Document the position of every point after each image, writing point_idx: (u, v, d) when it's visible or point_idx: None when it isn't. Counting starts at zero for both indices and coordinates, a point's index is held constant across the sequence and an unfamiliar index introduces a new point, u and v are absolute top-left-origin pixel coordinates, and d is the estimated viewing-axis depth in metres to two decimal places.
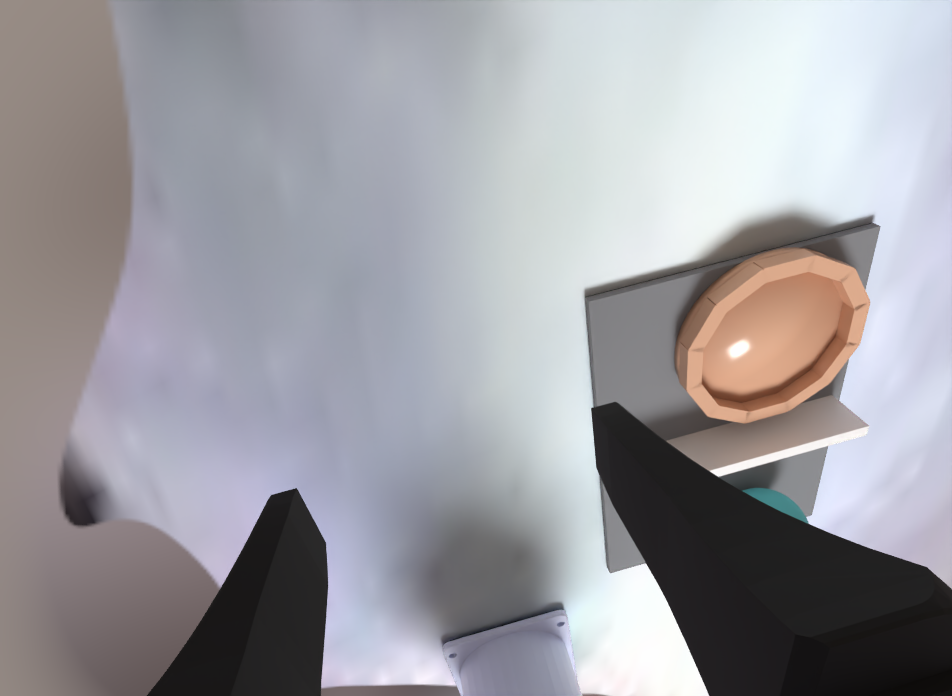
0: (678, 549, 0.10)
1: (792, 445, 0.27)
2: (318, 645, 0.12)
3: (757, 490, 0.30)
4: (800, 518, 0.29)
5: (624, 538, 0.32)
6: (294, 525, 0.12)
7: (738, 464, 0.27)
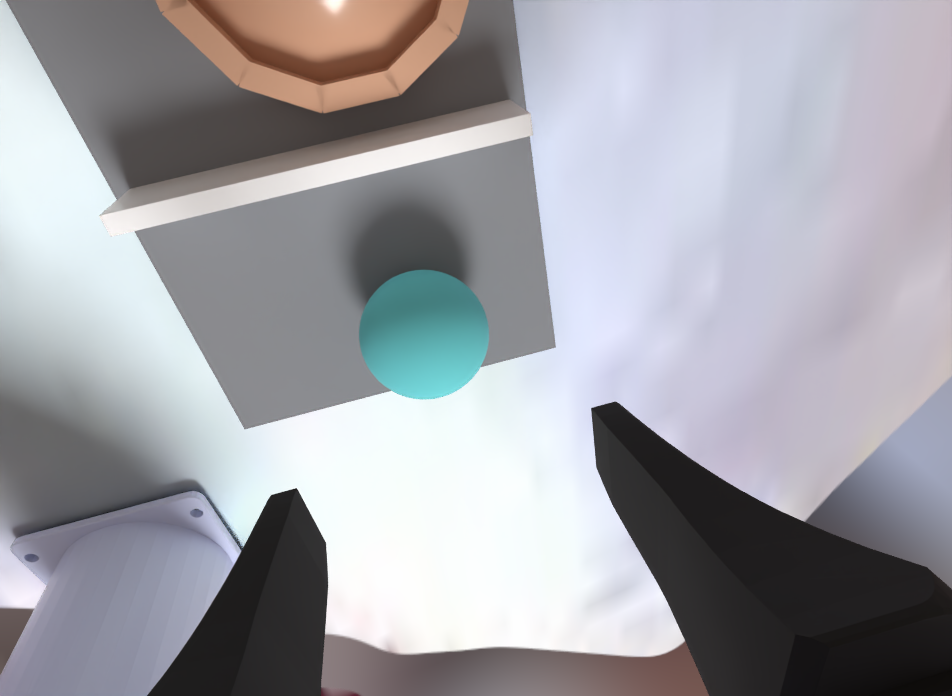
0: (678, 549, 0.10)
1: (397, 145, 0.16)
2: (318, 645, 0.12)
3: None
4: (455, 299, 0.18)
5: (239, 364, 0.21)
6: (294, 525, 0.12)
7: (296, 172, 0.15)
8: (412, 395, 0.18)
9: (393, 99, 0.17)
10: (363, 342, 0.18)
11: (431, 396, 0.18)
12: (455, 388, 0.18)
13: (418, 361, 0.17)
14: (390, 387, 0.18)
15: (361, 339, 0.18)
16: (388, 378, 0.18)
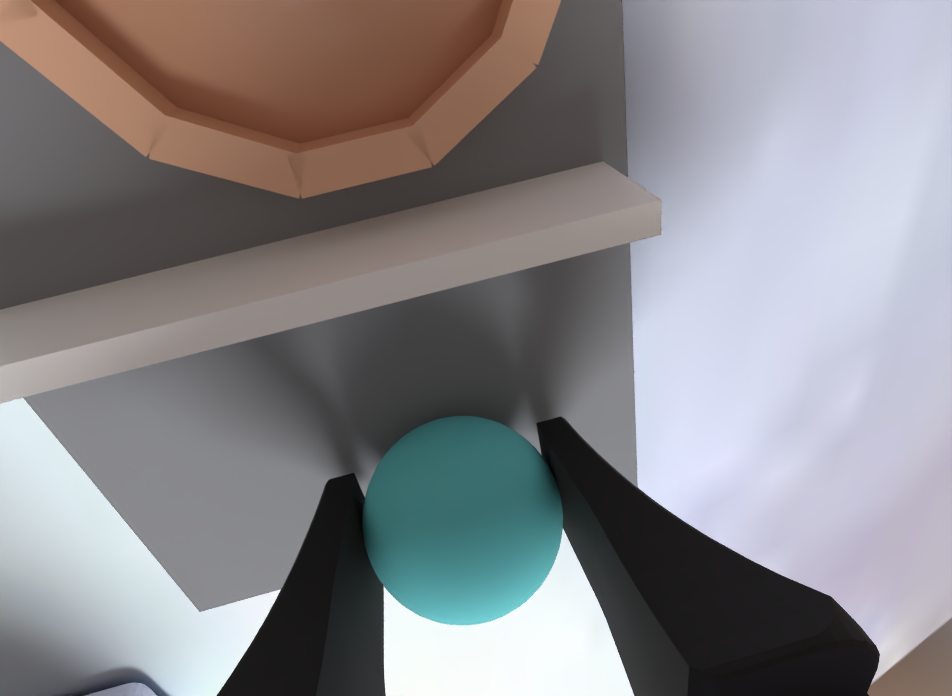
0: (607, 569, 0.10)
1: (429, 257, 0.09)
2: (379, 627, 0.12)
3: (445, 419, 0.12)
4: (517, 483, 0.11)
5: (187, 537, 0.14)
6: (355, 508, 0.12)
7: (252, 308, 0.09)
8: (446, 623, 0.12)
9: None
10: (369, 545, 0.11)
11: None
12: None
13: (459, 593, 0.10)
14: None
15: (366, 537, 0.12)
16: (409, 605, 0.11)
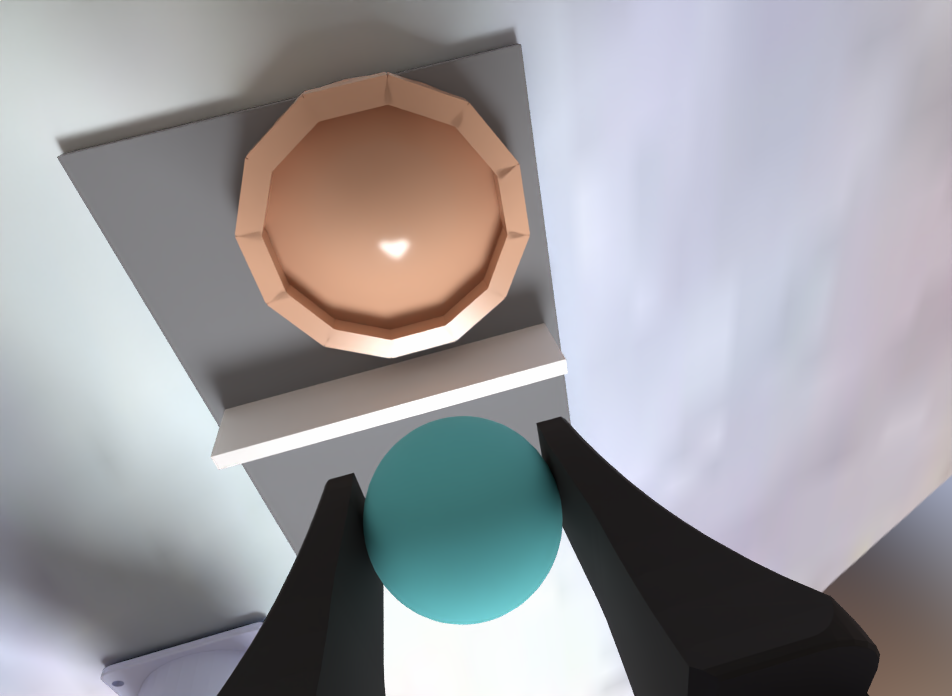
0: (607, 570, 0.10)
1: (454, 388, 0.19)
2: (379, 628, 0.12)
3: (446, 419, 0.12)
4: (516, 484, 0.11)
5: (306, 527, 0.24)
6: (355, 508, 0.12)
7: (372, 414, 0.18)
8: (445, 622, 0.12)
9: None
10: (369, 544, 0.11)
11: None
12: None
13: (456, 592, 0.11)
14: None
15: (366, 536, 0.12)
16: (408, 604, 0.11)
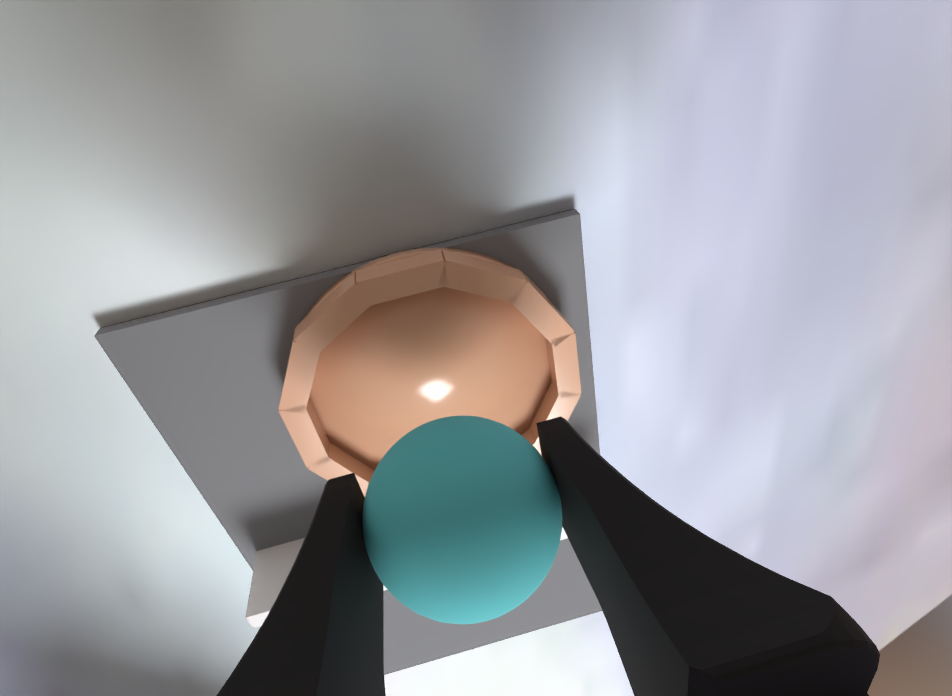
0: (607, 569, 0.10)
1: None
2: (379, 627, 0.12)
3: (445, 419, 0.12)
4: (516, 484, 0.11)
5: None
6: (355, 508, 0.12)
7: None
8: (444, 622, 0.12)
9: None
10: (368, 543, 0.11)
11: None
12: None
13: (456, 592, 0.10)
14: (410, 608, 0.12)
15: (365, 535, 0.12)
16: (408, 604, 0.11)
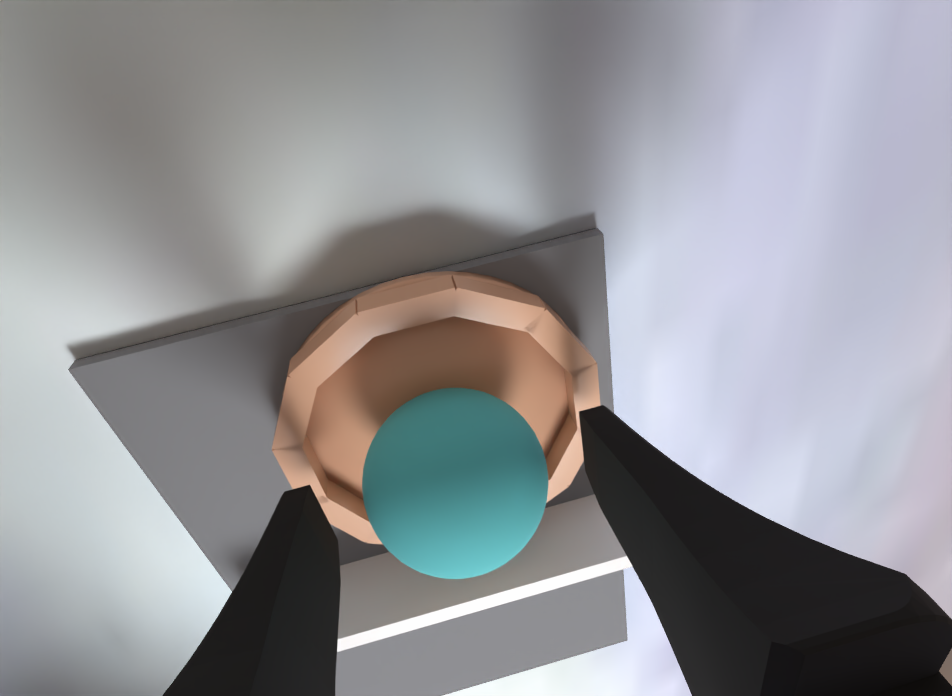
0: (662, 554, 0.10)
1: (511, 585, 0.17)
2: (332, 641, 0.12)
3: (439, 390, 0.13)
4: (504, 446, 0.12)
5: None
6: (308, 521, 0.12)
7: (418, 618, 0.16)
8: (439, 577, 0.13)
9: None
10: (368, 503, 0.12)
11: None
12: (500, 566, 0.13)
13: (449, 545, 0.11)
14: (407, 565, 0.13)
15: (365, 497, 0.12)
16: (404, 559, 0.12)
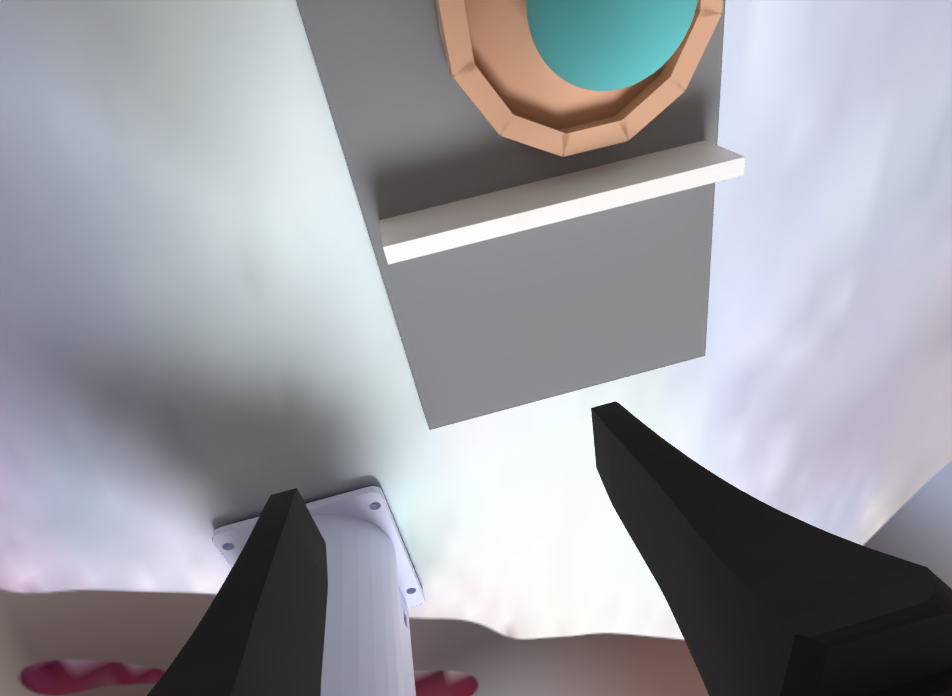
0: (678, 549, 0.10)
1: (630, 185, 0.18)
2: (318, 645, 0.12)
3: None
4: None
5: (437, 372, 0.23)
6: (294, 525, 0.12)
7: (547, 209, 0.18)
8: (607, 58, 0.14)
9: None
10: None
11: (631, 61, 0.14)
12: (660, 52, 0.14)
13: None
14: (578, 48, 0.14)
15: None
16: (582, 23, 0.13)
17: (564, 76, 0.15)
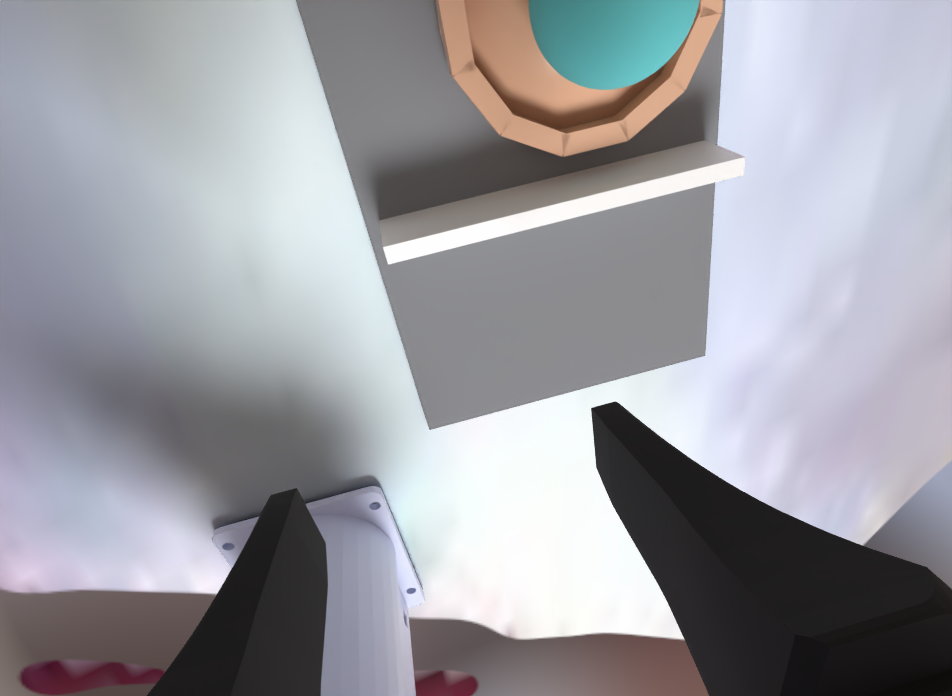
0: (678, 549, 0.10)
1: (630, 185, 0.18)
2: (318, 645, 0.12)
3: None
4: None
5: (437, 372, 0.23)
6: (294, 525, 0.12)
7: (547, 209, 0.18)
8: (612, 55, 0.14)
9: None
10: None
11: (635, 59, 0.14)
12: (664, 50, 0.14)
13: None
14: (582, 46, 0.14)
15: None
16: (587, 20, 0.13)
17: (567, 75, 0.15)
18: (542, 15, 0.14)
